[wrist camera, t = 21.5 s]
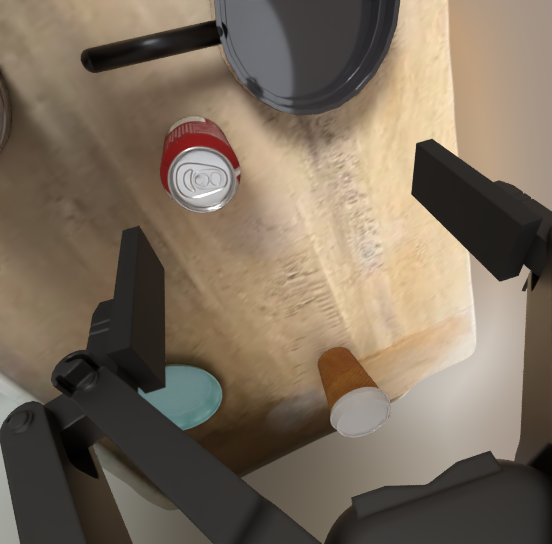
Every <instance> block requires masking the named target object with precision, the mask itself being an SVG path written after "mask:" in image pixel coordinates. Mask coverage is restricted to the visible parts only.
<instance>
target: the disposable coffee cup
mask: <svg viewBox="0 0 552 544" xmlns="http://www.w3.org/2000/svg"><path fill="white" fill-rule="evenodd" d="M318 368H319V372H320V375H321V379H322V383H323V386H324V390H325V394H326V397H327V401H328V405H329V408H330V412H331V419H330V420H331V424H332V426H333V427H334V428H335V429H336V430H337V431H338V432H339V433H340V434H341V435H343V436H345V437H361V436H364V435H367V434H370V433H371V432H374V431H375V430H377V429H378V428H380V427H381V426H382V425H383V424H384V423H385V422H386V421H387V420H388V418H389V416H390V414H391V407H390V399H389V397H388V395H387V394H386V393H385V392H383V391H382V390H380V389H379V388H378V386H377V385H376V384H375V382H374V381H373V380H372V379H371V377H370V376H369V375H368V374H367V372H366V371H365V370H364V369H363V367H362V366H361V365H360V364H359V362H358V361H357V360H356V358H355V357H354V356H353V355H352V353H351V352H350V351H349V350H348V349H346V348H343V347H338V348H333V349H331V350H328V351H327V352H325V353H324V354H323V355H322V356H321V357H320V359H319V361H318Z"/></svg>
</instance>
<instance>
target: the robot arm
mask: <svg viewBox="0 0 552 544" xmlns="http://www.w3.org/2000/svg"><path fill="white" fill-rule="evenodd" d="M11 115H12V114H11V104H10V99H9V95H8V91H7V88H6V85H5V83H4V80H3V78H2V76H1V74H0V151H1V150H2V149H3V147H4V145H5V144H6V141H7V139H8V136H9V133H10V128H11ZM411 194H412V195H413V196H414V197H415V198H416V199H417V200H418V201H419V202H420V203H421V204H422V205H423V206H424V207H425V208H426V209H427V210H428V211H429V212H430V213H431V214H432V215H433V216H434V217H435V218H436V219H437V220H438V221H439V222H440V223H441V224H442V225H443V226H444V227H445V228H446V229H447V230H448V231H449V232H450V233H451V234H452V235H453V236H454V237H455V238H456V239H457V240H458V241H459V242H460V243H461V244H462V245H463V246H464V247H465V248H466V249H467V250H468V251H469V252H470V253H471V254H472V255H473V256H474V257H475V258H476V259H477V260H478V261H479V262H480V263H481V264H482V265H483V266H484V267H485V268H486V269H487V270H488V271H489V272H490V273H492V275H493V276H494V277H495V278H496V279H497V280H499V281H503V280H507V279H510V278H513V277H516V276H519V273H520V271H521V269H522V266H523V264H524V265H525V266H526V267H527V268H529V269H530V270H531V271H530V273H529V275H528V278H527V280H526V282H525V284H524V286H523V289H522V291H526V288H527V306H526V328H525V329H526V330H525V351H524V371H523V372H524V373H523V393H522V415H521V435H520V442H519V445H518V448H517V451H516V455H515V460H514V461H510V460H503V459H495V457H494V456H493V454H492V453H491V451H488V452H485V453H482V454H479V455H476V456H473V457H470V458H467V459H465V460H461V461H458V462H456V463H455V464H454V465H452V466H451V467H450V468H448V469H447V470H446V471H444V472H443V473H442V474H441V475H439V476H438V477H437V478H435V479H434V480H433V481H431V482H430V483H429V484H426V485H406V486H384V487H381V488H378V489H376V490H372V491H369V492H367V493H363V494H360V495H357V496H355V497H352V498H351V499H352V506H350V507H349V508H348V509H347V510H345V511H344V512H343V513H342V514H341V515H340V516H339V518H338V519H337V520H336V522H335V523H334V524H333V526H332V528H331V530H330V532H329V533H328V535H327V538H326V540H325V543H324V544H552V211H550V210H549V209H547V208H546V207H544V206H543V205H541V204H540V203H538V202H537V201H535V200H534V199H531V197H530V196H528V195H527V194H525V193H524V194H523V192H522V191H521V190H519V189H518V188H516V187H515V186H513V185H511V184H508V183H505V182H502V181H496V182H492V181H491V180H489V179H488V178H486V177H485V176H483V175H482V174H481V173H479V172H478V171H476V170H475V169H474V168H472V167H471V166H469V165H468V164H467V163H465V162H464V161H463V160H461V159H460V158H458V157H457V156H455V155H454V154H453V153H451V152H450V151H448V150H447V149H446V148H444V147H443V146H441V145H440V144H439V143H437V142H436V141H434V140H433V139H430V140H426V141H423V142H419V143H416V152H415V162H414V172H413V182H412V192H411ZM89 335H90V336H89V338H88V343H87V348H86V350H78V351H75V352H73V353H70V354H69V355H67V356H66V357H65V358H63V359H62V360H61V361H60V362H59V363H58V364H57V365H56V367H55V369H54V371H53V373H52V377H51V382H52V384H53V386H54V387H55V388H57V389H58V390H59V391H61V392H62V393H63V394H62V395H60V396H58V397H57V398H55V399H53V400H52V401H50V402H48V403H47V404H45V405H42V404H41V403H39V402H35V401H32V402H27V403H24V404H22V405H21V406H19V407H17V408H16V409H15V410H14V411H12V412H11V413H10V414H9V415H8V417H7V418H6V419H5V421H4V422H3V424H2V426H1V429H0V444H1V449H2V454H3V458H4V464H5V469H6V474H7V479H8V484H9V489H10V494H11V499H12V504H13V510H14V515H15V520H16V524H17V530H18V535H19V539H20V544H133V543H132V541H131V538H130V536H129V533H128V531H127V528H126V526H125V524H124V521H123V519H122V516H121V514H120V512H119V509H118V506H117V504H116V502H115V499H114V497H113V494H112V492H111V489H110V487H109V485H108V482H107V480H106V477H105V475H104V472H103V470H102V467H101V465H100V462H99V460H98V458H97V455H96V453H95V450H94V448H93V444H95V443H96V442H98V441H99V440H101V439H102V438H104V437H105V436H108V437H109V438H110V439H111V440H112V441H113V442H114V444H115V445H116V446H117V447H118V448H119V449H120V450H121V451H122V452H123V453H124V454H125V455H126V456H127V457H128V458H129V459H130V460H131V461H132V462H133V463H134V464H135V465H136V466H137V467H138V468H139V469H140V470H141V471H142V472H143V473H144V474H145V475H146V476H147V477H148V478H149V479H150V480H151V481H152V482H153V483H154V484H155V485H156V486H157V487H158V488H159V489H160V490H161V491H162V492H163V493H164V494H165V495H166V496H167V497H168V498H169V499H170V500H171V501H172V502H173V503H174V504H175V505H176V506H177V507H178V508H179V509H180V510H181V511H182V512H183V513H184V514H185V515H186V516H187V517H188V518H189V519H190V520H191V521H192V522H193V523H194V525H195V526H196V527H197V528H199V530H200V531H201V532H202V533H203V534H204V535H205V536H206V537H207V538H208V539H209V540H210V541H211V542H212V543H213V544H322V543H321V542H319V541H318V540H317V539H316V538H315V537H313V536H312V535H311V534H310V533H308V532H307V531H306V530H305V529H304V528H302V527H301V526H300V525H299V524H298V523H296V522H295V521H294V520H293V519H292V518H290V517H289V516H288V515H287V514H285V513H284V512H283V511H282V510H281V509H279V508H278V507H277V506H276V505H274V504H273V503H272V502H270V501H269V500H267V499H266V498H264V497H263V496H261V495H260V494H259V493H258V492H257V491H255V490H254V489H253V488H252V487H250V486H249V485H248V484H247V483H246V482H244V481H243V480H242V479H241V478H240V477H238V476H237V475H236V474H235V473H234V472H232V471H231V470H230V469H229V468H228V467H226V466H225V465H224V464H223V463H222V462H220V461H219V460H218V459H217V458H216V457H214V456H213V455H212V454H211V453H210V452H208V451H207V450H206V449H205V448H203V447H202V446H201V445H200V444H199V443H197V442H196V441H195V440H194V439H193V438H191V437H190V436H189V435H188V434H187V433H185V432H184V431H183V430H182V429H181V428H179V427H178V426H177V425H176V424H175V423H173V422H172V421H171V420H170V419H169V418H167V417H166V416H165V415H164V414H162V413H161V412H160V411H159V410H158V409H156V408H155V407H154V406H153V405H152V404H150V403H149V402H148V401H147V400H146V399H144V398H143V397H142V396H141V395H140V394H138V387H139V388H140V389H141V390H142V391H143V392H144V393H145V394H147V393H150V392H153V391H156V390H160V389H163V388H166V372H165V282H164V267H163V266H162V264H161V262H160V260H159V259H158V257H157V255H156V254H155V252H154V250H153V248H152V247H151V245H150V243H149V241H148V240H147V238H146V236H145V234H144V233H143V231H142V229H141V228H140V226H136V227H133V228H130V229H126V230H123V231H122V239H121V246H120V254H119V261H118V269H117V276H116V284H115V291H114V299H111V300H107V301H104V302H101V303H99V305H98V307H97V308H96V310H95V311H94V313H93V316H92V321H91V327H90V332H89Z"/></svg>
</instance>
